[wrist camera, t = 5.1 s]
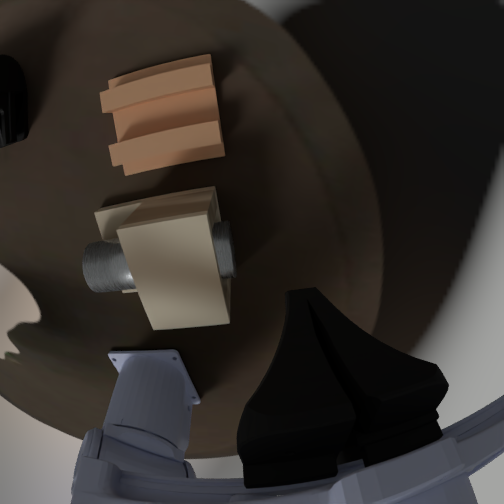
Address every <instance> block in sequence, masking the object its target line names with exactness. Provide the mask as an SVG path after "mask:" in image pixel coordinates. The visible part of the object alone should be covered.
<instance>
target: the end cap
mask: <svg viewBox="0 0 504 504" xmlns="http://www.w3.org/2000/svg"><path fill="white" fill-rule="evenodd" d="M27 136H28V113H27V88H26V83H25V77H24V74H23V71H22V69H21V67H20V65H19V64H18V62H17V61H16V60H15V59H14V58H12V57H10V56H8V55H0V148H2V147H5V146H7V145H10V144H13V143H16V142H19V141H22V140H24V139H26V138H27Z"/></svg>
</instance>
